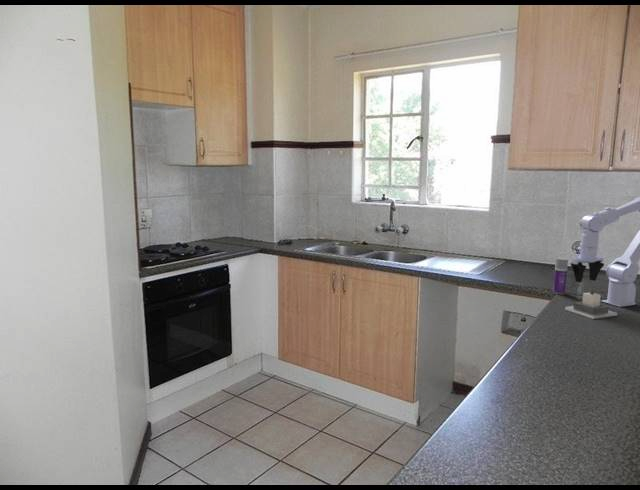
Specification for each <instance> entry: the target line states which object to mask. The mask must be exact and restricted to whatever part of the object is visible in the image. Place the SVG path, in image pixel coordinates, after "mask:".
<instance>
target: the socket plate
mask: <svg viewBox="0 0 640 490" xmlns="http://www.w3.org/2000/svg"><path fill="white" fill-rule="evenodd" d="M609 308H610V306H607V305H605V304H601V303H600V306H599V307H594V308H592V307H589V306H586V305H582V301H576V302H573V305H571V306H568V305H567V306H564V310H565V311H568V312H571V313H573V314H577V315H581V316H583V317H586V318H589V319H591V320H592V319H593V320H594V319H601V318H602V319H603V318H609V317H616V316H618V312H616V311H612V310H610V309H609Z"/></svg>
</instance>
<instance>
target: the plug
mask: <svg viewBox="0 0 640 490" xmlns="http://www.w3.org/2000/svg"><path fill="white" fill-rule="evenodd" d="M581 302H582V305H586V306H589V307H592V308H594V307H599V306H600V304H601V294H599V293H596V292H595V290H590V291H589V292H583V293H582V301H581Z"/></svg>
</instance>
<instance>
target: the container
mask: <svg viewBox="0 0 640 490" xmlns="http://www.w3.org/2000/svg"><path fill="white" fill-rule="evenodd" d="M568 264H569V259H568V258H565V257H556V258H555V266H554V275H553V276H554V277H553V287H552V293H553V294H555V295H565V294H566V286H567V276H568V267H569V266H568Z"/></svg>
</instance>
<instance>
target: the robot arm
mask: <svg viewBox="0 0 640 490" xmlns="http://www.w3.org/2000/svg"><path fill="white" fill-rule="evenodd" d="M637 211H638V213H639V214H640V196H639V197H635V198H634V199H633V200H631V201H629V202H627V203H624V204H623V205H621V206H619V207H616V208H614V207H610V206H609V207H608V206H607V207H605V208H604V210H601V211H598V212H594V213H593V214H592V215H589V214H588V215H585V216H583V217H582V218H581V220H580V221H579V222H578V223H579V227H580V229H581V240H580V249H579V250H580V251H579V255H578V256H577V257H575V258H572V259H571V262H570V266H571V268H572V270H573V274H574V280H575V282H577V283H582V281H583V278H584V273H585V270H586V268H587V267H588V268H589V277H588V278H589V280H590V281H594V282H596V281H597V278H598V275H599V274H600V271H601V270H602V268H603V267H604V266H605V263H603V262H604V257H603V256H598V248H599V240H600V239H599V238H600V232H601V231H602V230H603V229H604V227H606V226H608V225H609V226H610V225H612V224H613V223H616V222H619V219H620V217H623V216H625V215H628V214H631V213H634V212H637ZM639 261H640V229H639V230H638V231H637V233H636V234H635V236H634V237H633V239H632V240H631V242H630V244H629V245H628V246H627V248H626V249H625V251H624V253H623V255H621V256H620V257H617V258H614V259H613V261H612V262H610V263H609V264H608V265H607V266H606V268H605V273H606V276H607V277H608V281H609V282H608V291H607V299H602V300H601V302H602V303H606V304H608V305H613V306H616V307H619V308H620V307H629V306H636V305H637V303H636V302H635V300H636V295H637V294H636V291H637V287H636V285H635V283H634V282H635V281H636V279H637V277H638V273H639V271H640V265H639V264H638V262H639ZM584 264H588V266H587V265H584ZM635 304H636V305H635Z"/></svg>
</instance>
